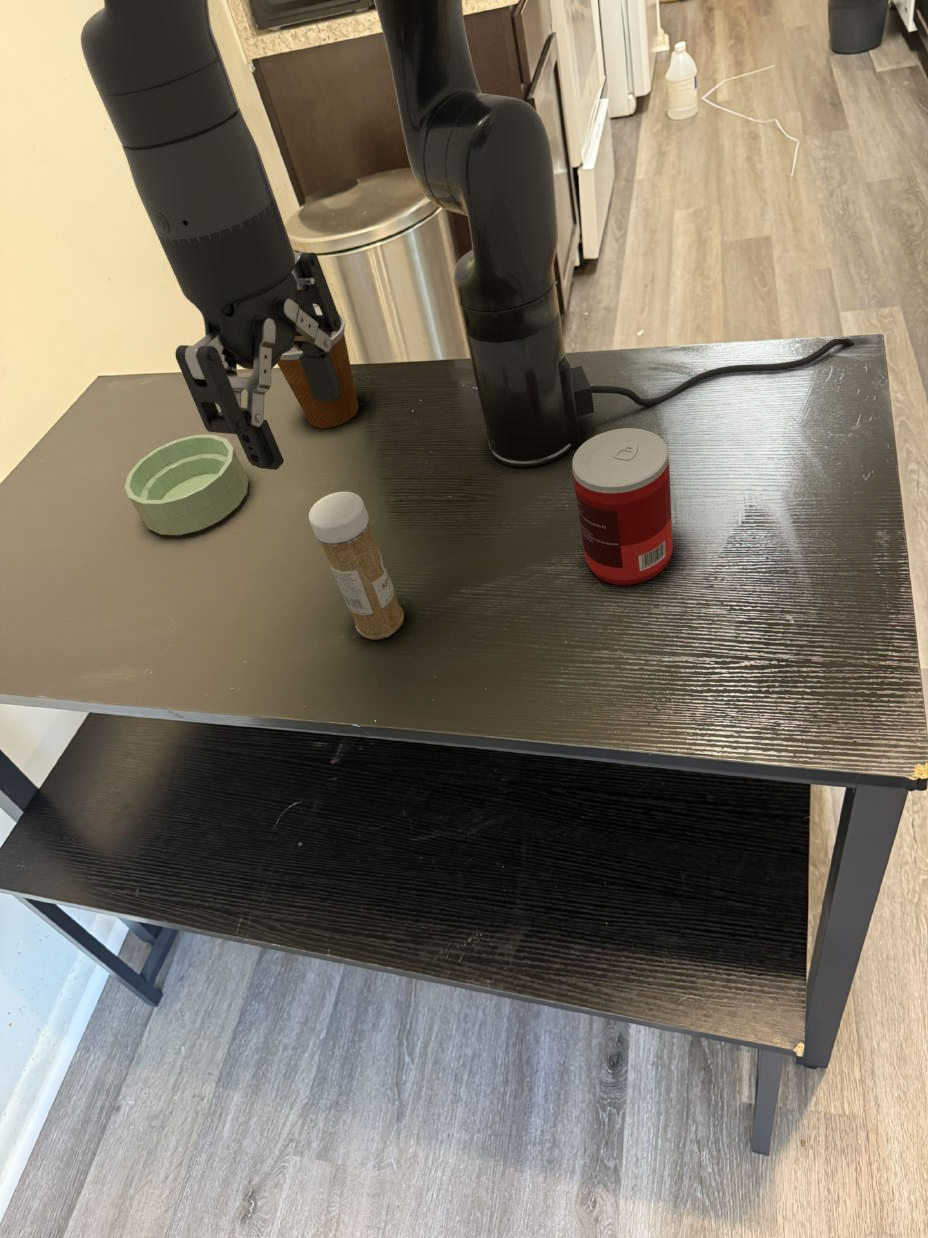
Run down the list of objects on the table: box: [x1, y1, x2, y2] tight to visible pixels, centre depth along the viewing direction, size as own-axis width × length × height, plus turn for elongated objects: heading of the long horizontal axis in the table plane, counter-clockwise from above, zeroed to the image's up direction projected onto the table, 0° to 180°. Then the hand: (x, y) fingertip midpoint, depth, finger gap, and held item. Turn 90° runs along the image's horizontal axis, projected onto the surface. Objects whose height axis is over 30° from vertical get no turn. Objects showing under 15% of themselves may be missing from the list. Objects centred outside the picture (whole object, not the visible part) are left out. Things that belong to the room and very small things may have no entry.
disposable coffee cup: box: [276, 304, 359, 429], centre depth 101 cm, size 10×10×12 cm
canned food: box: [571, 427, 674, 586], centre depth 73 cm, size 8×8×11 cm
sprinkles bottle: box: [308, 491, 405, 640], centre depth 73 cm, size 5×5×13 cm
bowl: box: [124, 434, 249, 536], centre depth 96 cm, size 12×12×5 cm
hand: (301, 431), depth 64 cm, fingers open, 8 cm apart
